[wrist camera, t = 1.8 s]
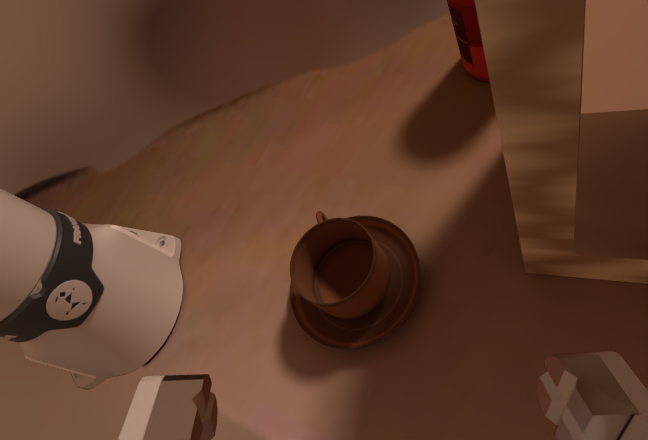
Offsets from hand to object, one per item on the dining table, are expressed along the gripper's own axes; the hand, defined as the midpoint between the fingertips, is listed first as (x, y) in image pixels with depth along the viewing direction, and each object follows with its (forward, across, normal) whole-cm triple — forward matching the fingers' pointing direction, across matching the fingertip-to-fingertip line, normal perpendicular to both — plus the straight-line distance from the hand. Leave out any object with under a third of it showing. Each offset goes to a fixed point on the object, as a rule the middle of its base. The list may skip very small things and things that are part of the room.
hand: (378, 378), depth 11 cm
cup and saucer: (+23, +2, -17) cm, 29 cm away
